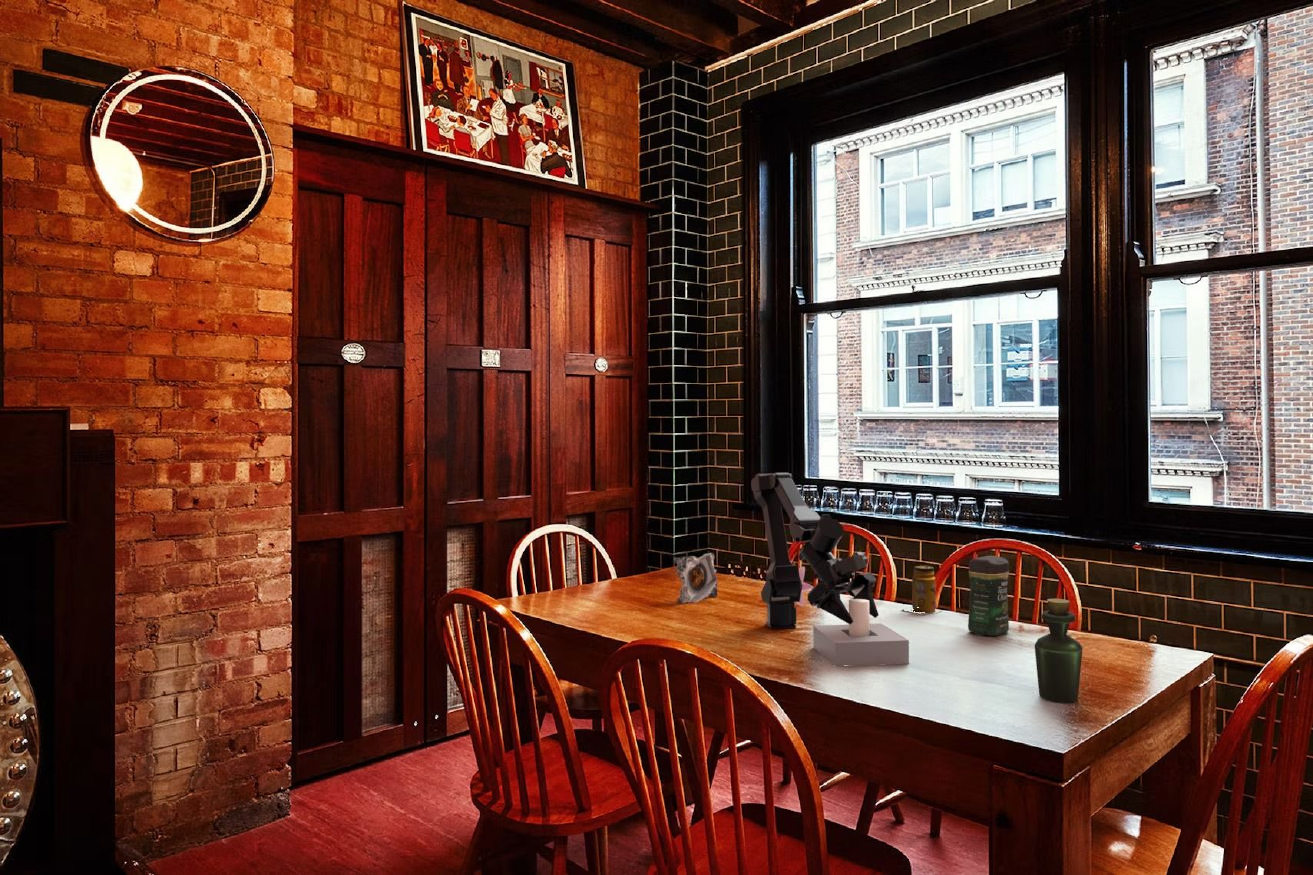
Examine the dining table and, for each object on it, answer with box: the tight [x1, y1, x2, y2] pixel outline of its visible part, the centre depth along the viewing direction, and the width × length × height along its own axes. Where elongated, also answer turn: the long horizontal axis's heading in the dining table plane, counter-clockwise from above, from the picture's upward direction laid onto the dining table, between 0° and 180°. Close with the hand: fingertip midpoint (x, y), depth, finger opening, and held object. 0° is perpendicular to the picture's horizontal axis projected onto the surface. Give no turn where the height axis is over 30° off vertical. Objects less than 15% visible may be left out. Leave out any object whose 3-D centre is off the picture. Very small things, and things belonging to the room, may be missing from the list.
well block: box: [812, 622, 910, 667], centre depth 193 cm, size 16×16×5 cm
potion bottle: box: [1034, 598, 1084, 704], centre depth 162 cm, size 8×8×18 cm
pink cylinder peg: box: [848, 598, 870, 637], centre depth 193 cm, size 4×4×12 cm
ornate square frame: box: [673, 552, 718, 604], centre depth 256 cm, size 15×4×13 cm, turn 138°
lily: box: [795, 566, 814, 607], centre depth 252 cm, size 12×12×10 cm
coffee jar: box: [967, 555, 1010, 637], centre depth 213 cm, size 10×8×19 cm
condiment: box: [902, 565, 941, 616], centre depth 238 cm, size 7×8×12 cm
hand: (864, 619), depth 192 cm, fingers open, 9 cm apart
